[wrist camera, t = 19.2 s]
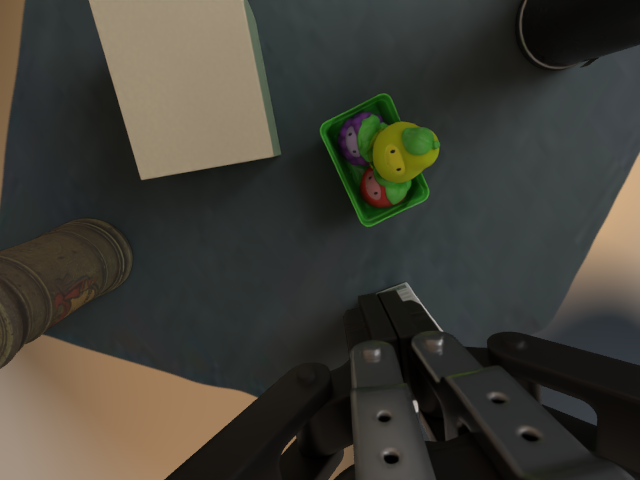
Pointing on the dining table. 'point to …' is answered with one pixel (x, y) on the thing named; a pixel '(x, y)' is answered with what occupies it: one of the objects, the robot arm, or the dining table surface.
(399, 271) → the dining table surface
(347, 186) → the fruit basket
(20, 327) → the container
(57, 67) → the dining table surface
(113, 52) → the lid
